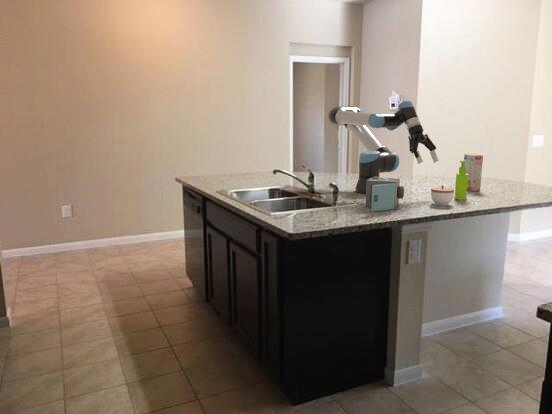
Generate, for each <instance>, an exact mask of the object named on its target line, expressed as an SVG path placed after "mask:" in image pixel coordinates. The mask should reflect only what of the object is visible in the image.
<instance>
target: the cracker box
mask: <svg viewBox="0 0 552 414" xmlns="http://www.w3.org/2000/svg"><path fill="white" fill-rule="evenodd" d="M483 159H484V156H483V155H482V154H481V155H480V154H475V153H464V155H463V161H469V162H471V163H468V162H465V167H466V174H468V184H467V191H470V192H481V183H482V170H483V163H484V160H483Z"/></svg>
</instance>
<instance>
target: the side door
mask: <svg viewBox="0 0 552 414" xmlns="http://www.w3.org/2000/svg"><path fill="white" fill-rule="evenodd" d="M396 197H397V183H392V184H380V185H372V204H371V207H370V212H378V211H387V210H396V209H397V207H396Z"/></svg>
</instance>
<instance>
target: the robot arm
mask: <svg viewBox="0 0 552 414" xmlns="http://www.w3.org/2000/svg"><path fill="white" fill-rule="evenodd" d="M328 120H329V121H330V123H331V124H332V125H334V126H344V127H345V129H346V130H347V131H348V132H349V131H350V132H352V133H353V135H355V137H356V139H358V140H359V142H360V143H361V145H362V146H363V148H365V150H366V151H362V152H361V153H359V159H358V179H357V183H356V185H355V189H354V190H355V192H356V193H359V194H365V195H366V180H368V179H370V178H371V177H373V178H374V177H379V178H380V174H381V173H391V172H394V171H396V170H397V169H398V167H399V165H400V157H399V154H398V153H397V152H394V151H390V149H389V148H388V147H387V146H385V145H382V144H381V142H379V140H378V138H376V136H375V135H374V133H372V131H370V129H369V128H368V127H371V128H373V129H387V130H389V131H390V132H392V131H395V130H396V129H398V128H399V127H400V126H402V125H403V124H405V127H406V130H407V132H408V134H409V135H408V137H407V138H408V142H409V143H408V145H409V152H410V153H411V154H413V155H414V157H415V159H416V161H417V164H418V165H420V164H422V163H423V161H424V160H423V158H422V156H421V153H420V151H419V150H418V147H419V144H421V145H423V146H424V147H425V148H426V149H428V150H429V154H430V157H431V159H432V163H434V164H435V163H437V162H439V158H438V156H437V153H436V150H437V147H436V145H435V143H433V141H432V140H431V139H430V137H429V135H428V134H427V133H425V134H423V132H424V128H423V125H422V124H421V121H420V118H419V116H418V114H417V111H416V109H415V105H414V104H413V102H412V101H411V100H409V99H407V100H404V101H402V102H400V103H399V104H398V110H397V111H396V112H395V113H386V114H385V113H373V112H372V113H371V112H362V110H361V109H360V108H358V107H357V106H350V105H349V106H335V107H333V108H331V109H330V110H329V113H328Z"/></svg>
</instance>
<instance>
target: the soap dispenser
mask: <svg viewBox="0 0 552 414" xmlns="http://www.w3.org/2000/svg"><path fill="white" fill-rule="evenodd" d="M459 162H460V166H459V167H458V168H459V169H458V173H456V175H455V176H456V177H455V186H454V187H455V188H454V199H455V200H467V195H468V190H467V184H468V174H466V167H465V162H468V163H471V162H469V161H464V160H460V161H459Z"/></svg>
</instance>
